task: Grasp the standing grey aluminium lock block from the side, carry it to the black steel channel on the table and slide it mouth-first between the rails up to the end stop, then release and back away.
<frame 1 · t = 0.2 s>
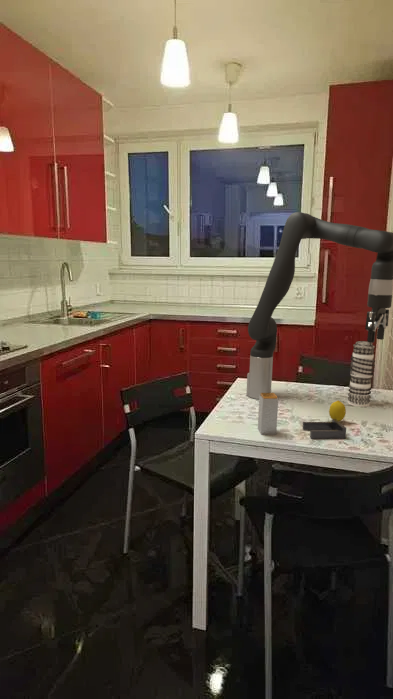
hand: (375, 340, 155), 29 cm above the table, tool pointing down, fingers open, 8 cm apart
decorative candle: (358, 403, 183), on the table
channel: (321, 433, 148), on the table
lock block: (266, 431, 149), on the table
lemon: (336, 422, 160), on the table
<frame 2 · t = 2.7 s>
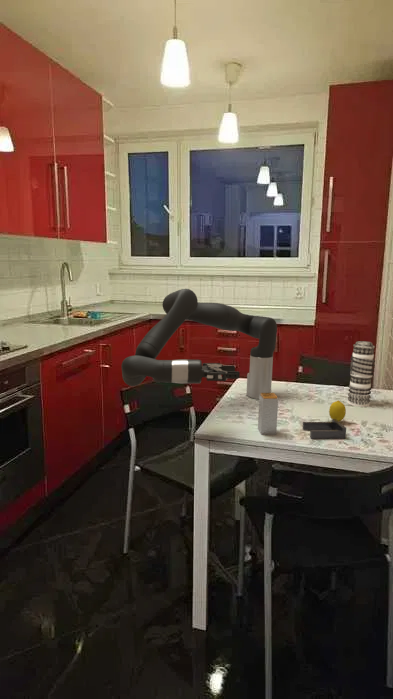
hand: (237, 371, 144), 20 cm above the table, tool horizontal, fingers open, 8 cm apart
nothing on the table moved.
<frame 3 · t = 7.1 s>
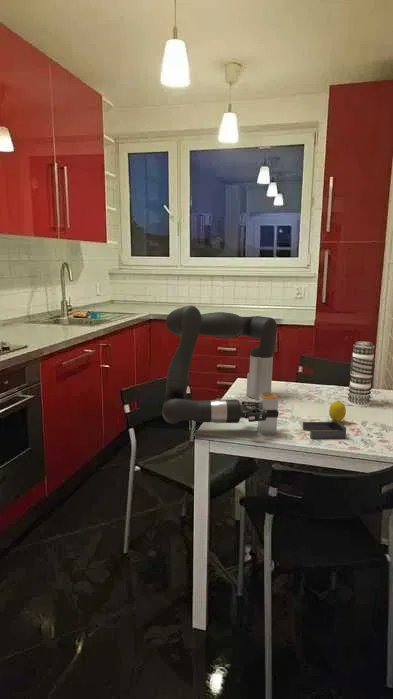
hand: (275, 411, 148), 7 cm above the table, tool horizontal, fingers closed on lock block, 5 cm apart
lock block: (266, 431, 149), on the table, touching gripper
everything else where it was.
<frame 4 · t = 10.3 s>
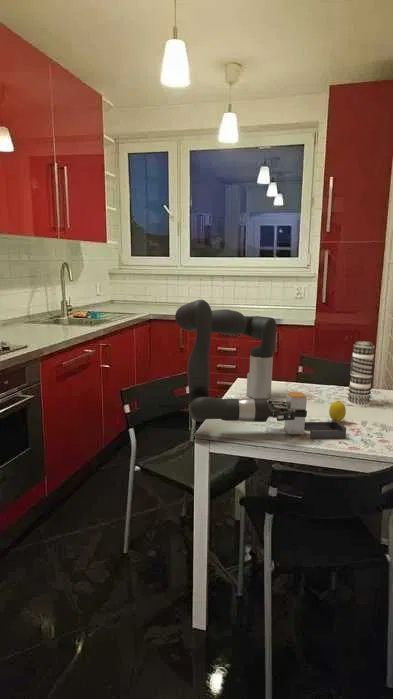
hand: (303, 410, 146), 8 cm above the table, tool horizontal, fingers closed on lock block, 5 cm apart
lock block: (293, 431, 147), point 1 cm above the table, touching gripper
everything else where it was.
when the fingers open (8 cm above the table, at t = 13.4 s): lock block stays where it is, resting in channel.
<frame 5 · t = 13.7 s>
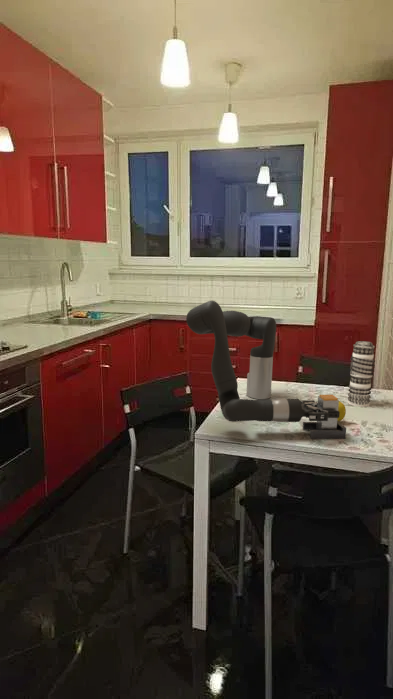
hand: (334, 410, 147), 8 cm above the table, tool horizontal, fingers open, 7 cm apart
lock block: (325, 433, 149), resting in channel
everything else where it was.
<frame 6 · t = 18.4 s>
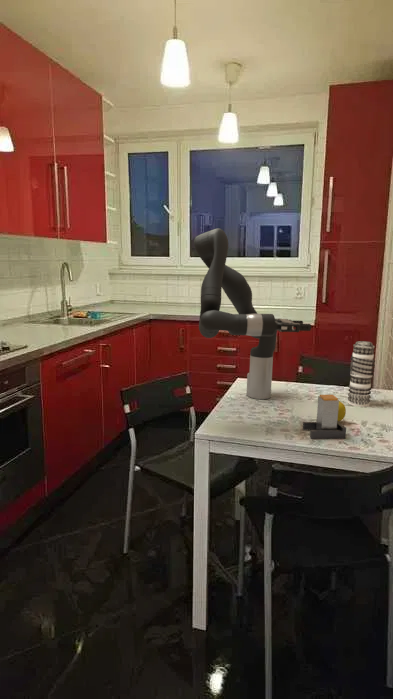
hand: (306, 325, 153), 34 cm above the table, tool horizontal, fingers open, 8 cm apart
nothing on the table moved.
at the end: lock block inside the target area on the channel (0.4 cm from its centre), point 0.0 cm above the channel's base; lock block tilted 0°; the gripper is holding nothing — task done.
